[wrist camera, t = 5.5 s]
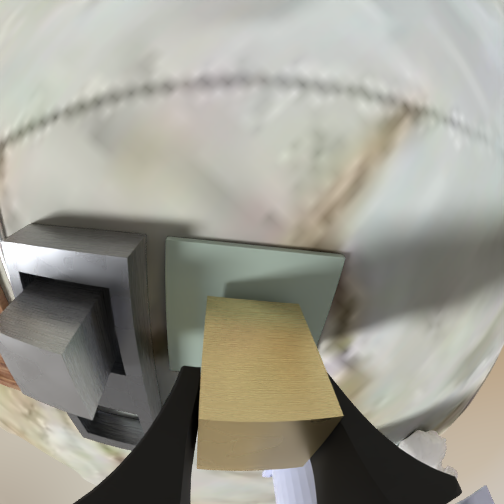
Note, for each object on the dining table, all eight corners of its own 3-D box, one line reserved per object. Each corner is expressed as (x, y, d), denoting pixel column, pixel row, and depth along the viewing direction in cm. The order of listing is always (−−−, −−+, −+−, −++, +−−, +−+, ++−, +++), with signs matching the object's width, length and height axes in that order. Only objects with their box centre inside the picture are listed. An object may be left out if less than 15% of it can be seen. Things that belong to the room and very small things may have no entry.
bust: (394, 446, 29) (447, 470, 21) (368, 481, 25) (425, 508, 17) (424, 404, 24) (489, 432, 16) (398, 449, 20) (471, 481, 12)
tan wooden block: (298, 303, 12) (343, 415, 6) (279, 365, 13) (302, 467, 8) (207, 295, 11) (198, 419, 6) (201, 361, 13) (196, 468, 7)
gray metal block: (118, 270, 12) (61, 355, 6) (126, 333, 14) (92, 420, 8) (54, 261, 12) (-12, 327, 6) (68, 321, 13) (23, 393, 8)
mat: (342, 254, 12) (345, 257, 12) (303, 372, 15) (304, 377, 15) (167, 236, 11) (165, 239, 11) (170, 365, 15) (169, 370, 14)
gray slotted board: (145, 234, 11) (127, 257, 9) (166, 432, 18) (163, 456, 16) (30, 223, 10) (1, 241, 8) (90, 415, 17) (83, 437, 15)
